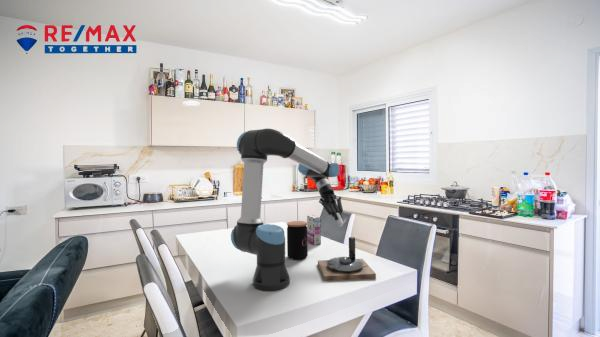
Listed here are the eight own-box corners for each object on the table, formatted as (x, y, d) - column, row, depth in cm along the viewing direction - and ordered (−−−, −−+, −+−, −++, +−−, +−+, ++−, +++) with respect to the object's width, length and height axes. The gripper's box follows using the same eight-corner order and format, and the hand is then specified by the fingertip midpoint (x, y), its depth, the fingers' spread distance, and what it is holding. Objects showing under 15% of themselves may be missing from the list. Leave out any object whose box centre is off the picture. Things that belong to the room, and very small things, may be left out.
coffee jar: (305, 260, 149) (305, 225, 149) (285, 259, 151) (284, 224, 151) (309, 254, 160) (308, 221, 159) (290, 253, 162) (289, 220, 162)
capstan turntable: (350, 275, 123) (350, 247, 123) (320, 267, 133) (319, 241, 133) (369, 264, 135) (368, 239, 135) (339, 258, 145) (339, 234, 145)
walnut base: (324, 280, 123) (324, 275, 123) (317, 264, 143) (317, 260, 143) (375, 278, 125) (375, 273, 125) (362, 262, 145) (362, 258, 145)
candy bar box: (321, 244, 179) (321, 217, 179) (313, 245, 177) (313, 218, 177) (314, 240, 189) (313, 214, 189) (306, 240, 188) (306, 215, 187)
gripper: (333, 192, 167) (350, 227, 152) (312, 194, 162) (327, 230, 147) (337, 183, 162) (355, 219, 147) (316, 185, 157) (332, 221, 142)
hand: (341, 224), depth 147 cm, fingers closed
